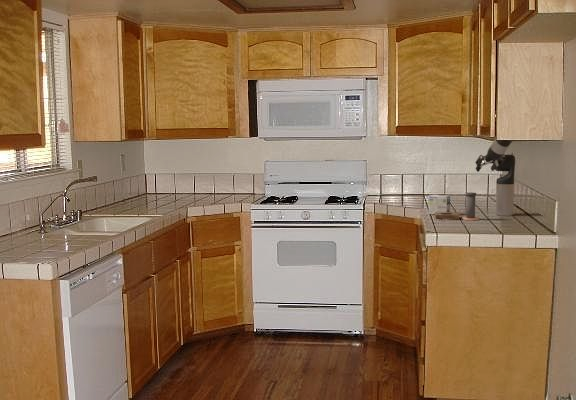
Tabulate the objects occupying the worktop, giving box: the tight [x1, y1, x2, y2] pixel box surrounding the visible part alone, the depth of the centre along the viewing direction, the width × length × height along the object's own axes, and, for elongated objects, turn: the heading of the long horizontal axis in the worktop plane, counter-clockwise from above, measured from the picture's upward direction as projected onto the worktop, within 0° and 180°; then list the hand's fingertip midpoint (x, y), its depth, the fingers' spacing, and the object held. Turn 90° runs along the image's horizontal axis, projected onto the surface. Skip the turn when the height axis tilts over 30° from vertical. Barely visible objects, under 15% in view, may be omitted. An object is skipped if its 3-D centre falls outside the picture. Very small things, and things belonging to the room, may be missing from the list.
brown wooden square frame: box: [434, 211, 460, 221], centre depth 340 cm, size 12×12×2 cm
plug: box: [465, 192, 477, 218], centre depth 334 cm, size 5×5×13 cm
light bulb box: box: [428, 194, 451, 215], centre depth 356 cm, size 11×7×11 cm, turn 59°
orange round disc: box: [461, 216, 480, 222], centre depth 335 cm, size 9×9×1 cm
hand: (484, 170), depth 321 cm, fingers open, 8 cm apart
